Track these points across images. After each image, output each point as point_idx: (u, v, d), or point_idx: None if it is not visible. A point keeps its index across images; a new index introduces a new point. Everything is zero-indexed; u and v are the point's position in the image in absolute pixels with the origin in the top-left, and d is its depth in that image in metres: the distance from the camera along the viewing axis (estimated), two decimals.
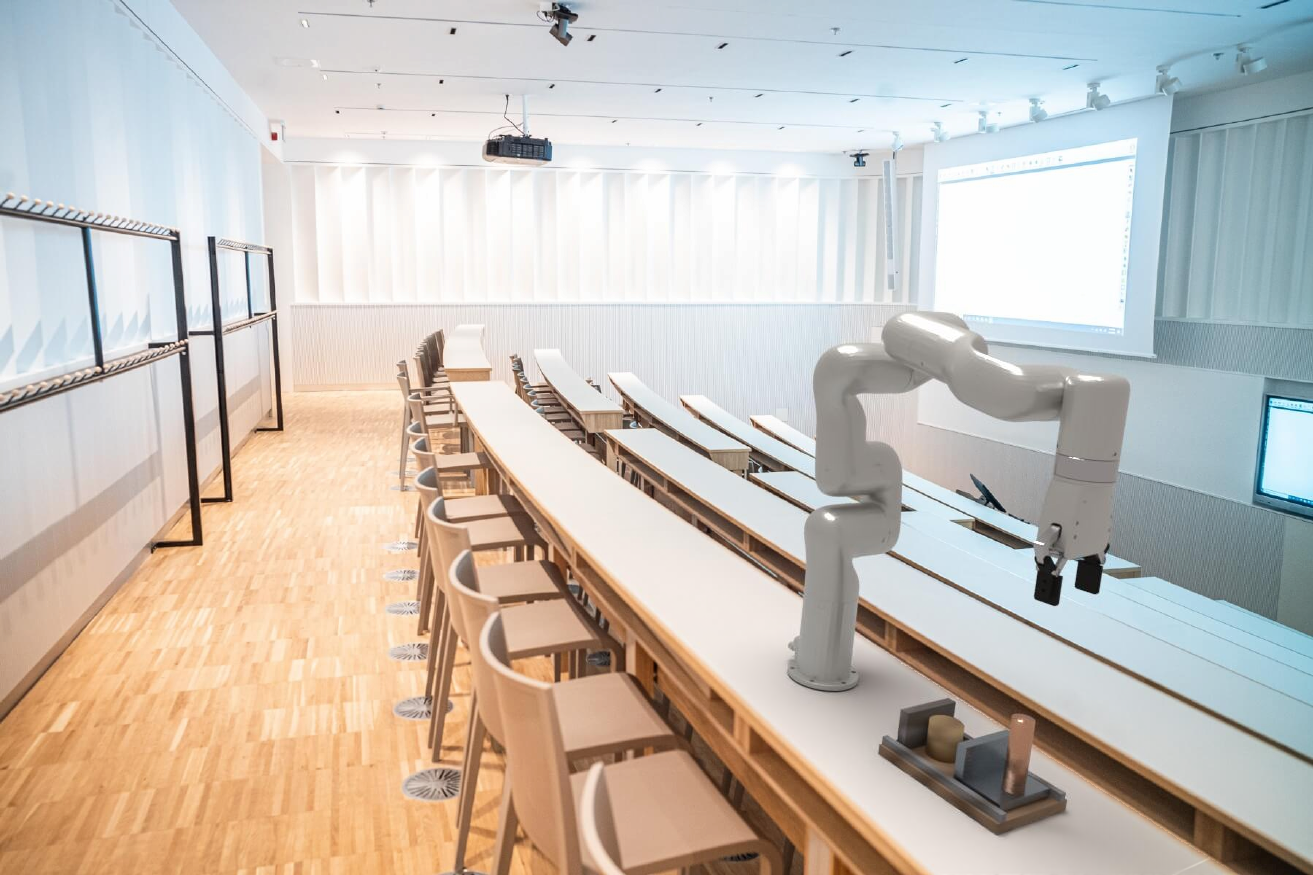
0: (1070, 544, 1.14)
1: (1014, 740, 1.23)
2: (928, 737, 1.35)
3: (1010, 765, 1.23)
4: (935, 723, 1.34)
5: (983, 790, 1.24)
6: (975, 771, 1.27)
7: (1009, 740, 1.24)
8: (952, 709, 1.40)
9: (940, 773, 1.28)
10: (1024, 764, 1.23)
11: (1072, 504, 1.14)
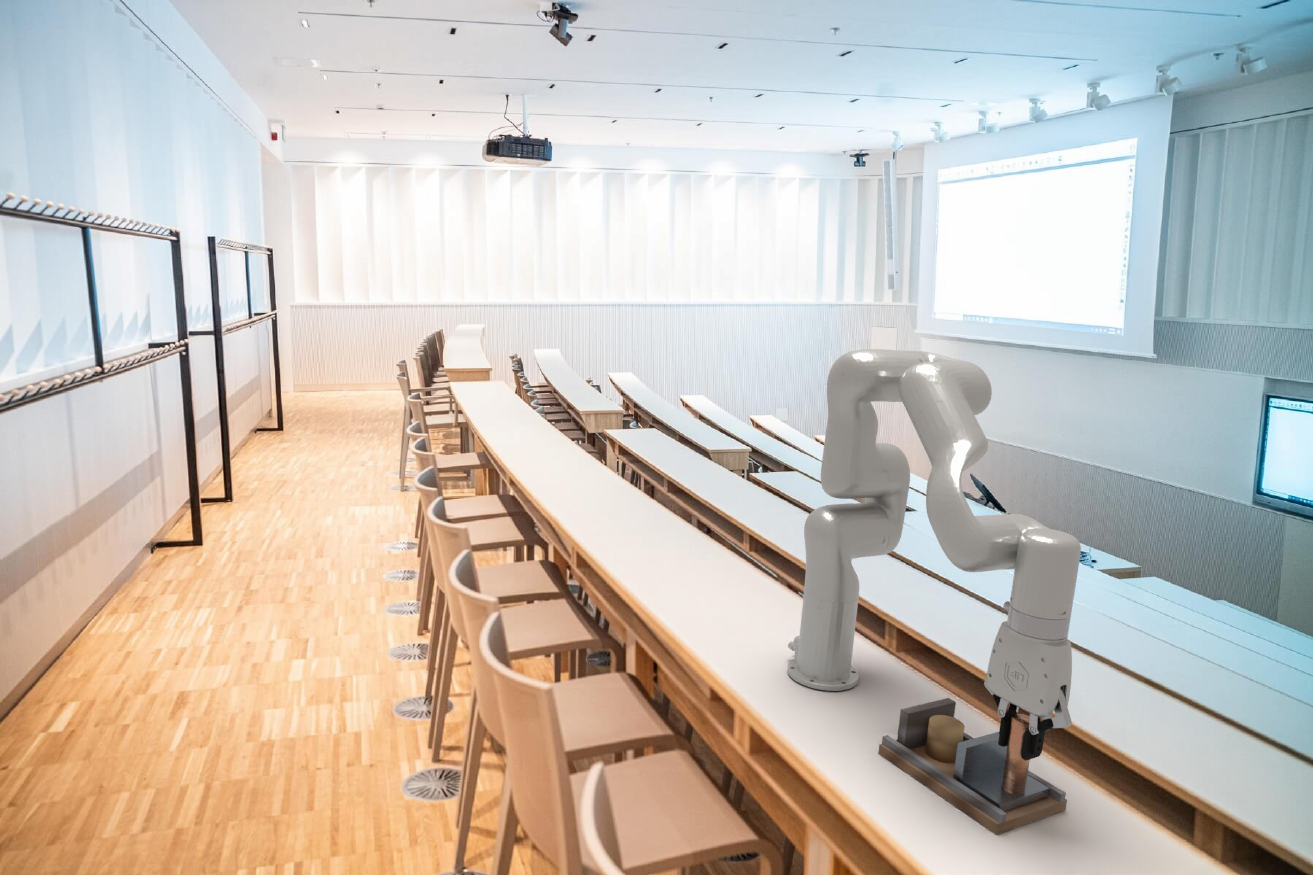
0: None
1: (1014, 740, 1.23)
2: (928, 737, 1.35)
3: (1010, 765, 1.23)
4: (935, 723, 1.34)
5: (983, 790, 1.24)
6: (975, 771, 1.27)
7: (1009, 740, 1.24)
8: (952, 709, 1.40)
9: (940, 773, 1.28)
10: (1024, 764, 1.23)
11: (1071, 661, 1.18)
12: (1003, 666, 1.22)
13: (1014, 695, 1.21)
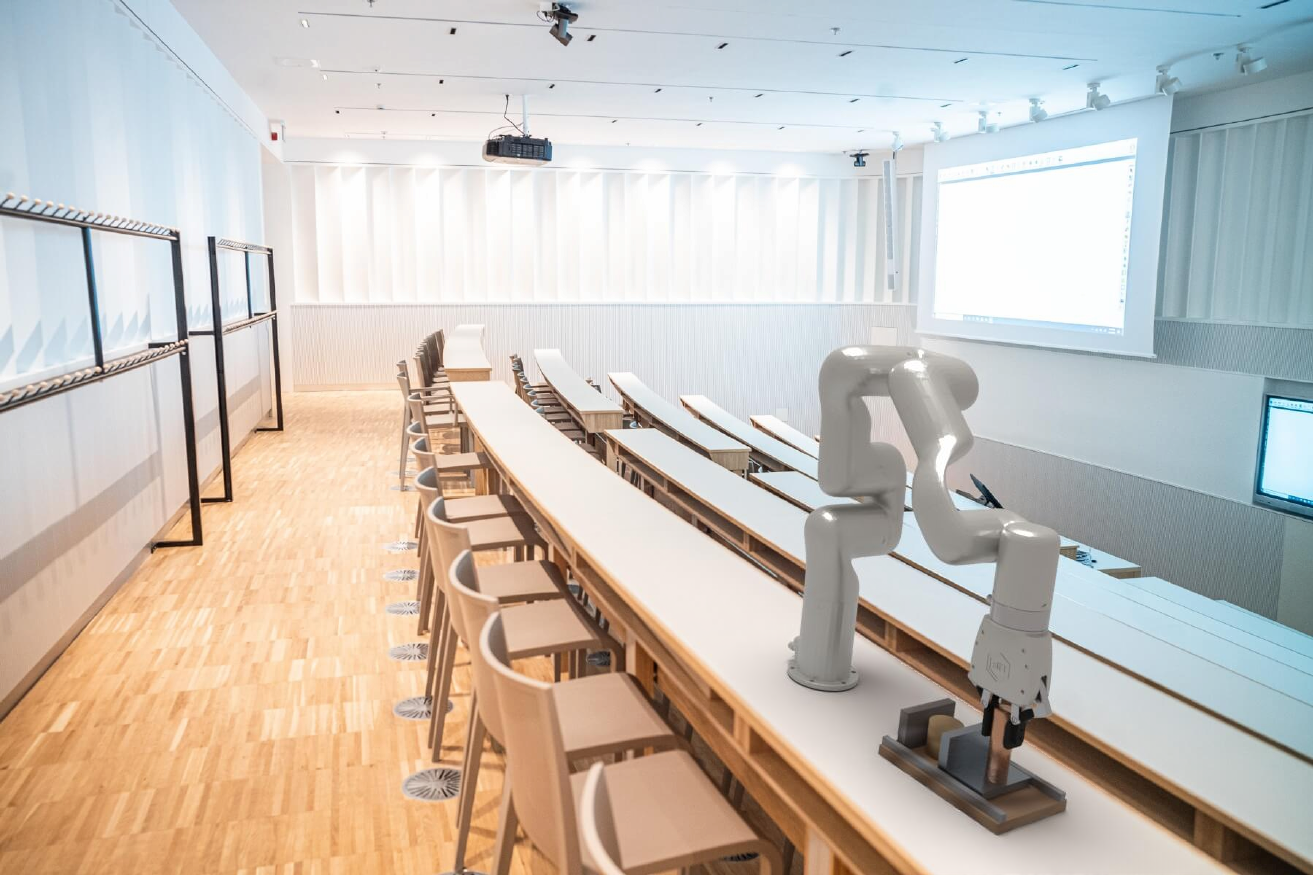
0: None
1: (996, 730, 1.25)
2: (928, 737, 1.35)
3: (992, 754, 1.26)
4: (935, 723, 1.34)
5: (966, 779, 1.26)
6: (959, 761, 1.30)
7: (992, 730, 1.26)
8: (952, 709, 1.40)
9: (940, 773, 1.28)
10: (1006, 754, 1.25)
11: (1051, 652, 1.21)
12: (985, 657, 1.25)
13: (996, 686, 1.23)
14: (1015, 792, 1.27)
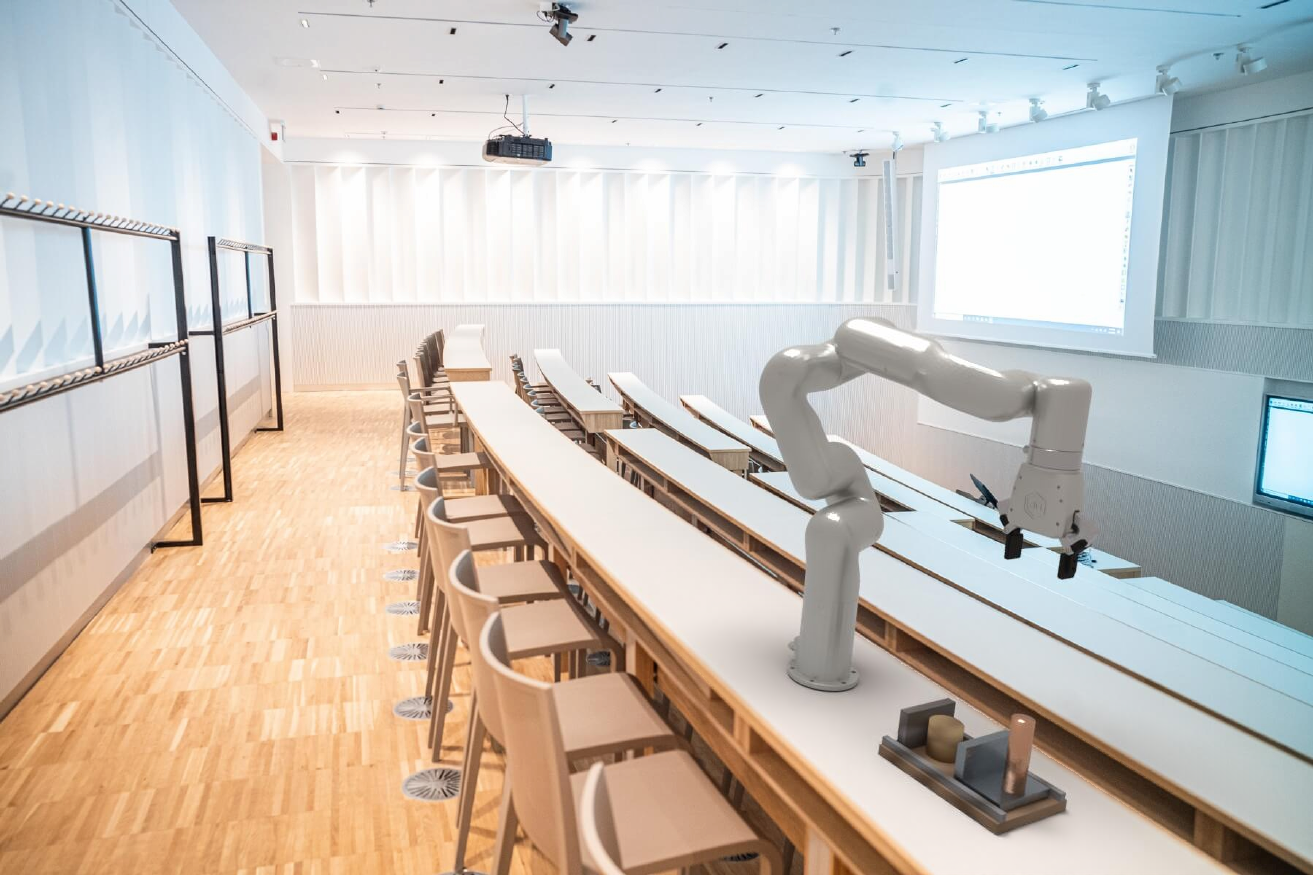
0: None
1: (1014, 740, 1.23)
2: (928, 737, 1.35)
3: (1010, 765, 1.23)
4: (935, 723, 1.34)
5: (983, 790, 1.24)
6: (975, 771, 1.27)
7: (1009, 740, 1.24)
8: (952, 709, 1.40)
9: (940, 773, 1.28)
10: (1024, 764, 1.23)
11: (1083, 490, 1.35)
12: (1023, 499, 1.39)
13: (1033, 523, 1.37)
14: None
